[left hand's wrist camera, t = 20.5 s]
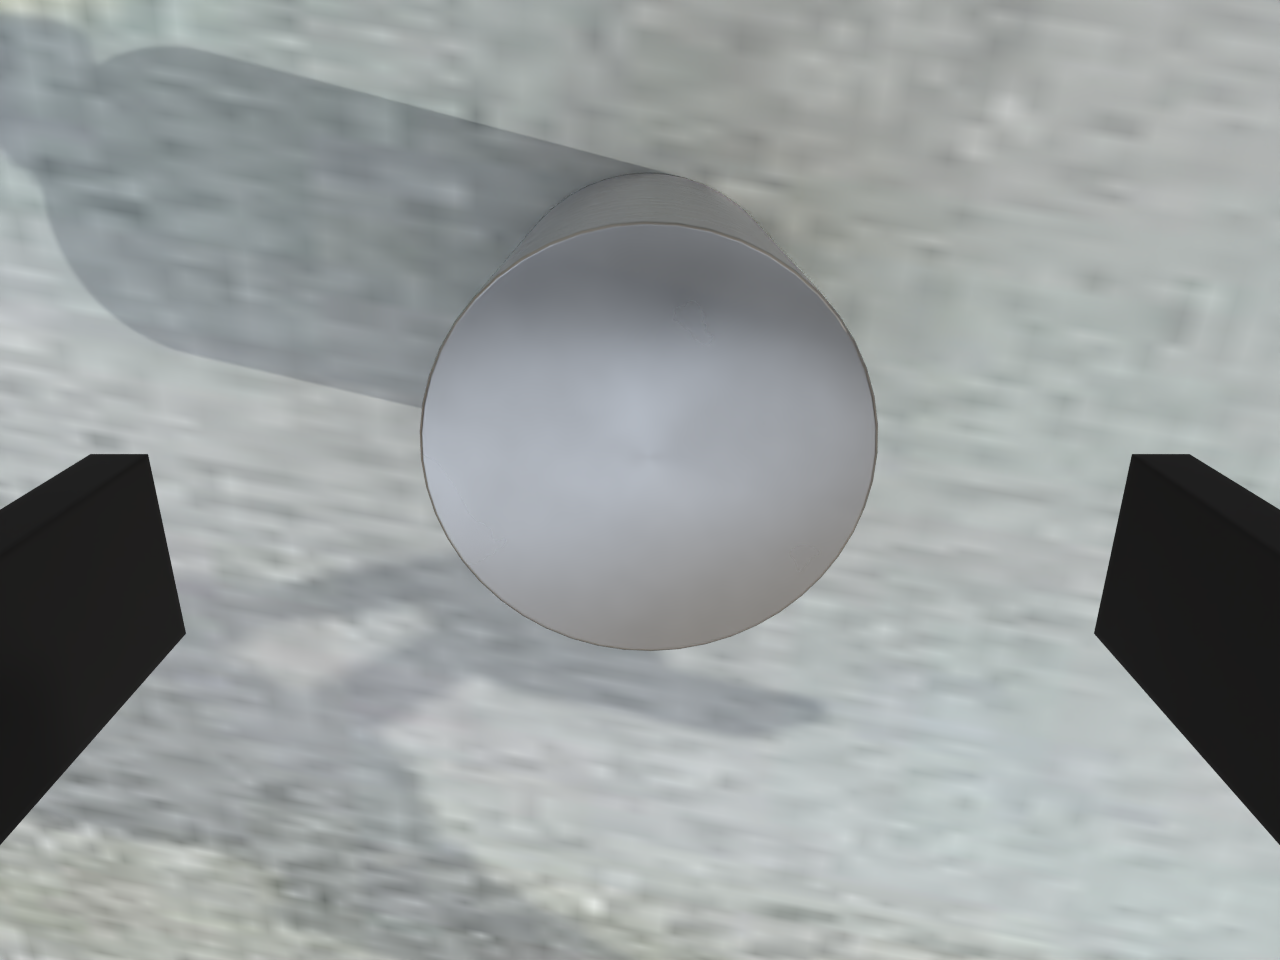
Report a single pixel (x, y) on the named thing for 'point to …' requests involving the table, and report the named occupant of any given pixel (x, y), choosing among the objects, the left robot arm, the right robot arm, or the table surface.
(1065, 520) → the table surface
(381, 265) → the table surface
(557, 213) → the tin
